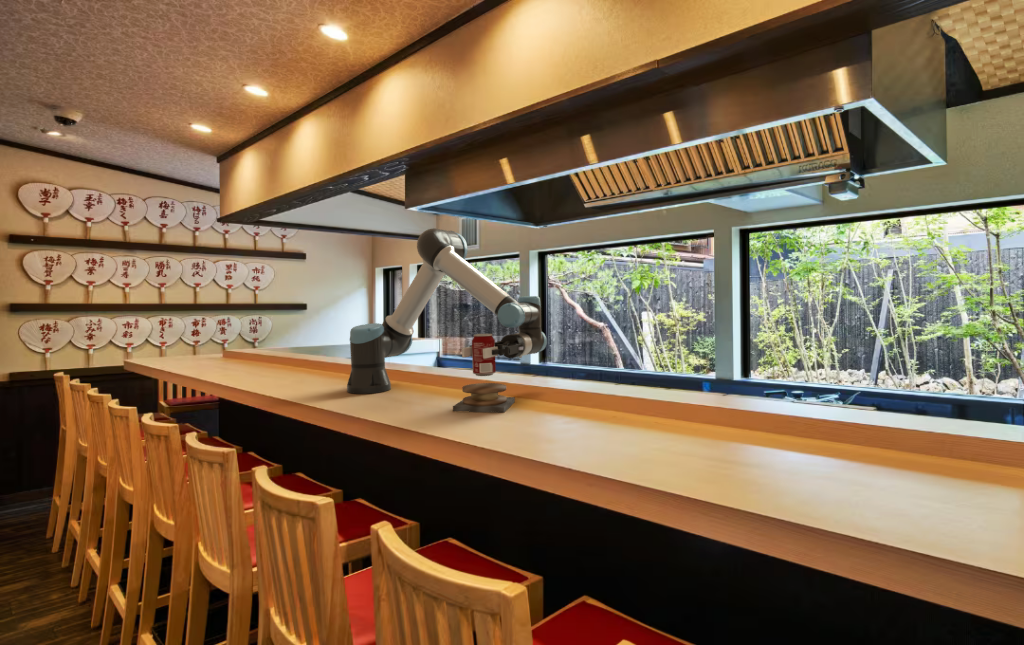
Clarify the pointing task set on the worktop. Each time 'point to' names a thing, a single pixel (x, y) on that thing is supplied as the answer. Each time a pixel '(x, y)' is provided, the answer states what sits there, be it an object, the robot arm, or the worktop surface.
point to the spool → (484, 398)
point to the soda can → (479, 363)
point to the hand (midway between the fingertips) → (473, 353)
